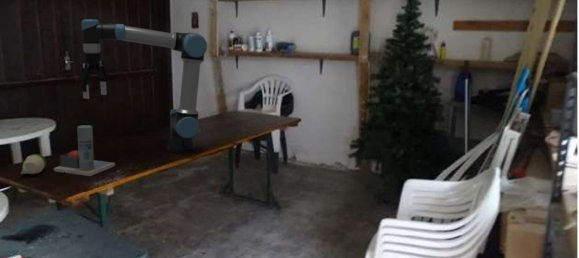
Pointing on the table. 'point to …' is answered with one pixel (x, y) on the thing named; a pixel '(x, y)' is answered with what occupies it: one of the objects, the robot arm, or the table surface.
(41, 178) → the table surface
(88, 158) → the spray paint can
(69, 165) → the tray with gray block
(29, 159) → the cartoon head
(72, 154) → the red dome
